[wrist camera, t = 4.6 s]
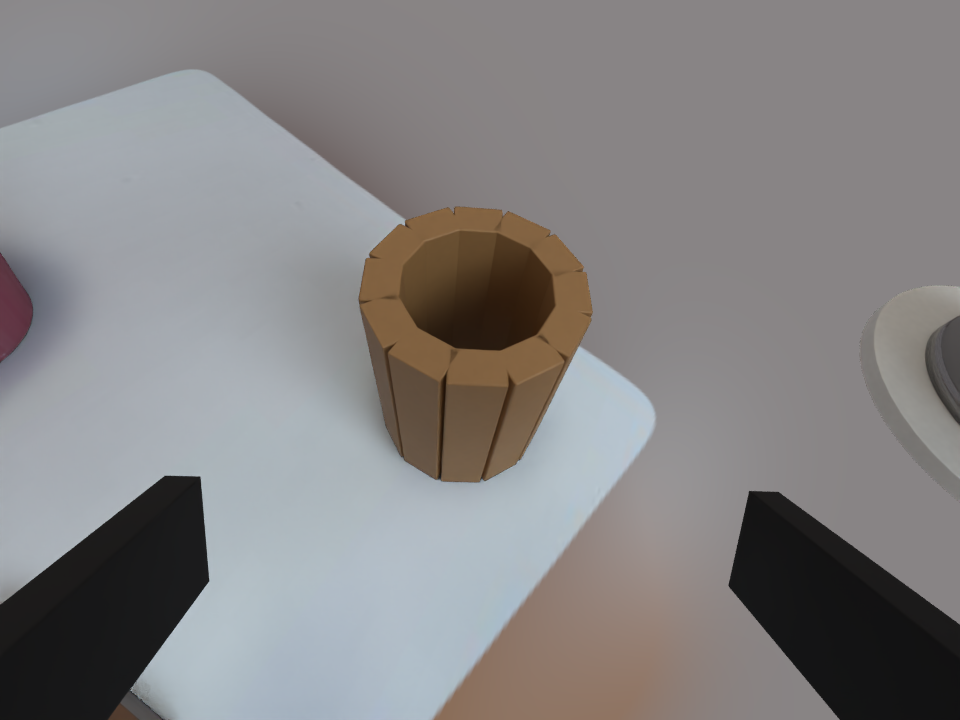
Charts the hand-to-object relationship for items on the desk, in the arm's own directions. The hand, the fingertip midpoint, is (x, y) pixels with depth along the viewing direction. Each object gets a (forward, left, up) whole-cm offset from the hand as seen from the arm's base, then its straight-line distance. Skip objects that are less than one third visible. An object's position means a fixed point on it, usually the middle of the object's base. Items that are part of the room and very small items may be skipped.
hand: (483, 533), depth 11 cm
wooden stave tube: (+5, -9, -15) cm, 18 cm away
